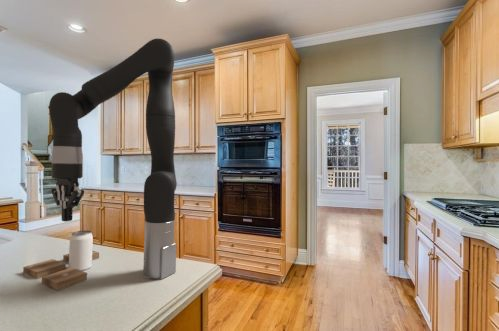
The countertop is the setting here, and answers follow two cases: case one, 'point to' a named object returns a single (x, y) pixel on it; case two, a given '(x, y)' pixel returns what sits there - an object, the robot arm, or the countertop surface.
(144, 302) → the countertop surface
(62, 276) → the tile
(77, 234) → the can
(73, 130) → the robot arm
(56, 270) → the tile
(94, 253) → the tile
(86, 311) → the countertop surface
